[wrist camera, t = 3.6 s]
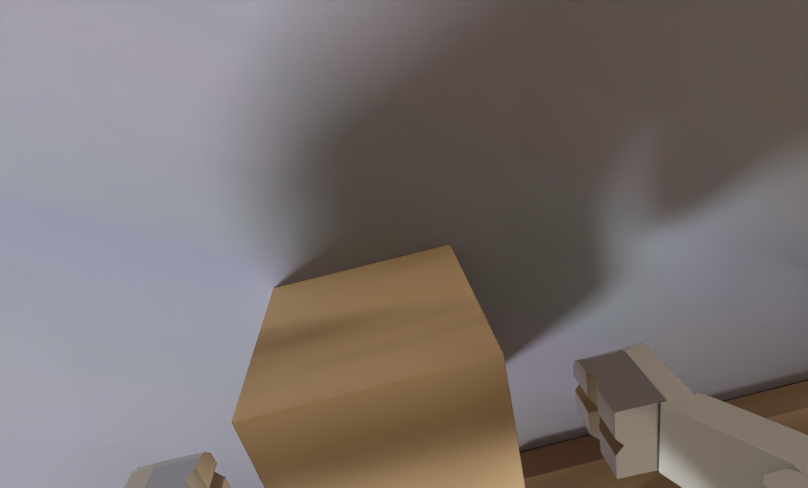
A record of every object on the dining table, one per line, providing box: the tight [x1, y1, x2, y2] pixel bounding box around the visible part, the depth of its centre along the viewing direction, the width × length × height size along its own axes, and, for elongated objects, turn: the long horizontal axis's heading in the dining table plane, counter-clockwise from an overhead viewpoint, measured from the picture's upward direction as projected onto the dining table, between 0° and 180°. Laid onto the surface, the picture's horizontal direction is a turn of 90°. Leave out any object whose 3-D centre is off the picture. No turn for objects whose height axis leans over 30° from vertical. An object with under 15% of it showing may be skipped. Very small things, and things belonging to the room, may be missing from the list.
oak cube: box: [232, 245, 525, 488], centre depth 12 cm, size 5×5×5 cm
